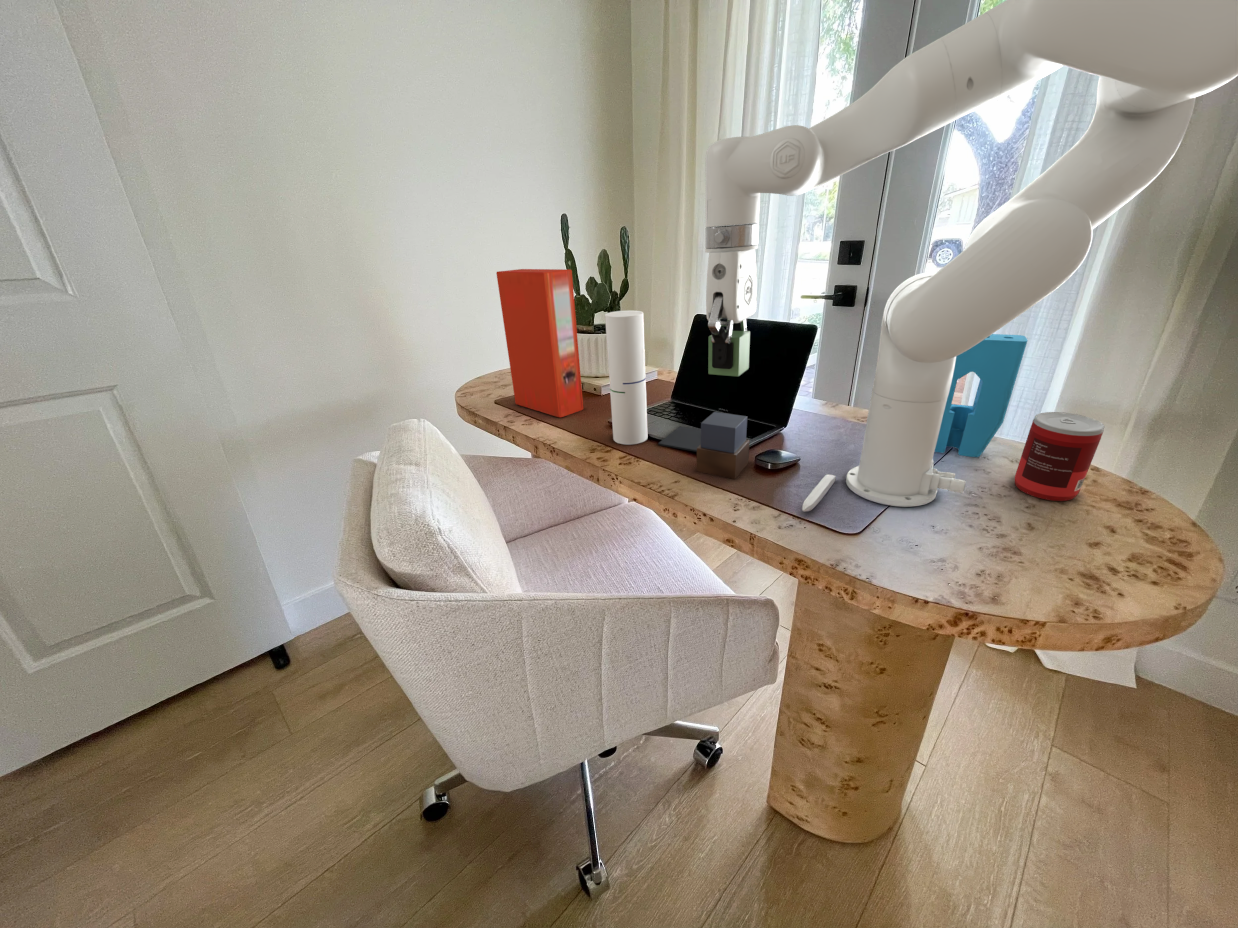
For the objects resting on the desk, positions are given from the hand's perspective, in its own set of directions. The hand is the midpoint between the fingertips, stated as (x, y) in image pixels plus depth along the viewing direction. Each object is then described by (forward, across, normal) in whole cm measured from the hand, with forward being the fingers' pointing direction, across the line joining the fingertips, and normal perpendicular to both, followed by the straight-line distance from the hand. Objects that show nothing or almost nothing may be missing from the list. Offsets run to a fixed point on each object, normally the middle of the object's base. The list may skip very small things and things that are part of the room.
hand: (728, 362), depth 79 cm
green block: (+1, 0, 0) cm, 1 cm away
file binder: (+18, +14, +52) cm, 57 cm away
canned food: (+20, +13, -45) cm, 51 cm away
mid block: (+14, 0, +1) cm, 14 cm away
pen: (+19, -4, -16) cm, 26 cm away
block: (+20, +24, -33) cm, 45 cm away
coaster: (+19, +9, +11) cm, 23 cm away
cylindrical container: (+19, +5, +23) cm, 30 cm away
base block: (+19, 0, +1) cm, 19 cm away
